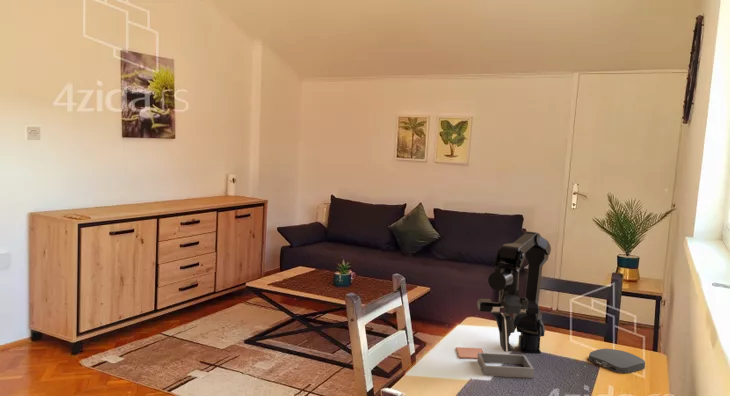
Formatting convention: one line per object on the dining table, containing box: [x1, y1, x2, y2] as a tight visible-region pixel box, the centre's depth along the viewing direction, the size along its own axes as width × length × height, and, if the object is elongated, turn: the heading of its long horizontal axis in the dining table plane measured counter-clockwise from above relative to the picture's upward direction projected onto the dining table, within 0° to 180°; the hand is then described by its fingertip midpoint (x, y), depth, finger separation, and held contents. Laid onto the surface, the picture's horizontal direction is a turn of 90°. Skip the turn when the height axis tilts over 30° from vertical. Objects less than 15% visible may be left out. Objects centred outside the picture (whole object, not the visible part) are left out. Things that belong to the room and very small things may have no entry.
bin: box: [476, 352, 535, 379], centre depth 174 cm, size 16×12×3 cm
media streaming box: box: [588, 348, 646, 374], centre depth 182 cm, size 15×15×3 cm
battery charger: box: [498, 312, 515, 353], centre depth 173 cm, size 7×4×11 cm, turn 178°
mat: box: [455, 346, 485, 360], centre depth 186 cm, size 9×9×1 cm
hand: (506, 332), depth 173 cm, fingers closed on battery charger, 4 cm apart
